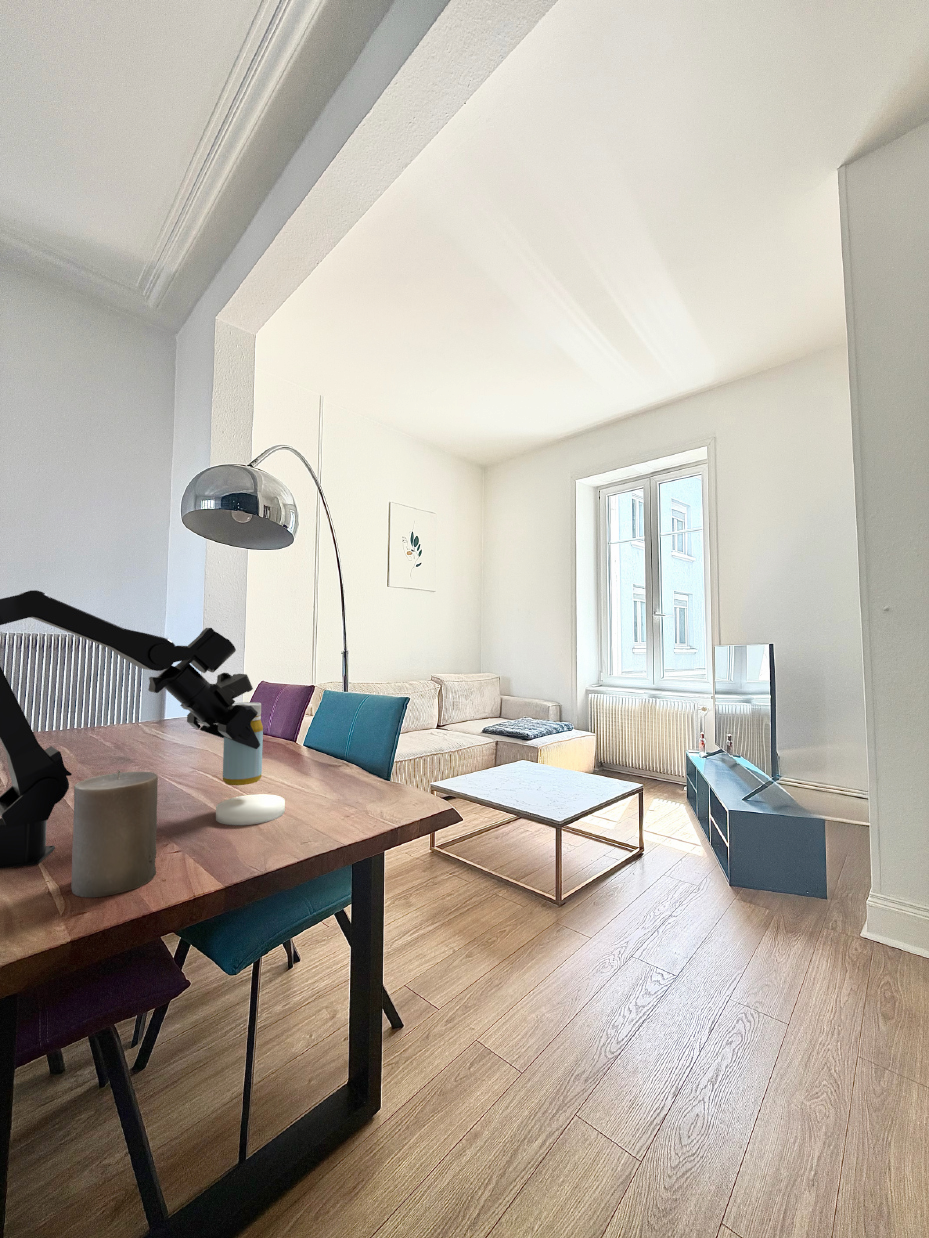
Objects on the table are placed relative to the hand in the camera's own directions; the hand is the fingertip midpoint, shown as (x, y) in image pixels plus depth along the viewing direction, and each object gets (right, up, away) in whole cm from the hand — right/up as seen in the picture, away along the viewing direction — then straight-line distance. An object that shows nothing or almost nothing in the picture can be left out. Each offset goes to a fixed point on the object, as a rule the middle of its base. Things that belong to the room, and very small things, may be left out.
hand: (249, 744), depth 104 cm
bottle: (-1, -7, -1) cm, 7 cm away
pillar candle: (-5, -11, -33) cm, 35 cm away
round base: (+2, -12, -5) cm, 13 cm away
